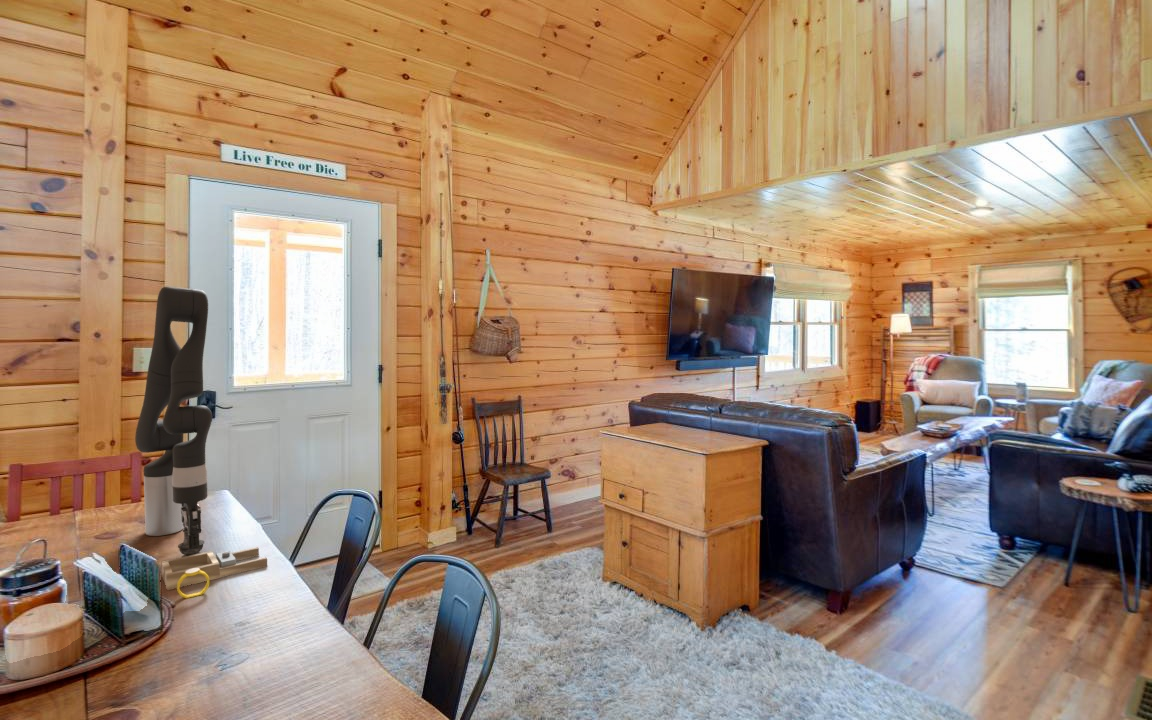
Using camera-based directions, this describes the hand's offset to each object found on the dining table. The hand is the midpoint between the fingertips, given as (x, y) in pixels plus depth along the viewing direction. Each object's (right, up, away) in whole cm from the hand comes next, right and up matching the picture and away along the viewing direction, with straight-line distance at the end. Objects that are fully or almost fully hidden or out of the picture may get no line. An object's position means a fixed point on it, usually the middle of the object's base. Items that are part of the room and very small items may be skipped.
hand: (191, 544), depth 150 cm
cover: (+13, -4, -7) cm, 15 cm away
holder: (+12, -4, -8) cm, 15 cm away
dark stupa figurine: (0, -4, 0) cm, 4 cm away
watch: (+15, -5, -21) cm, 26 cm away
